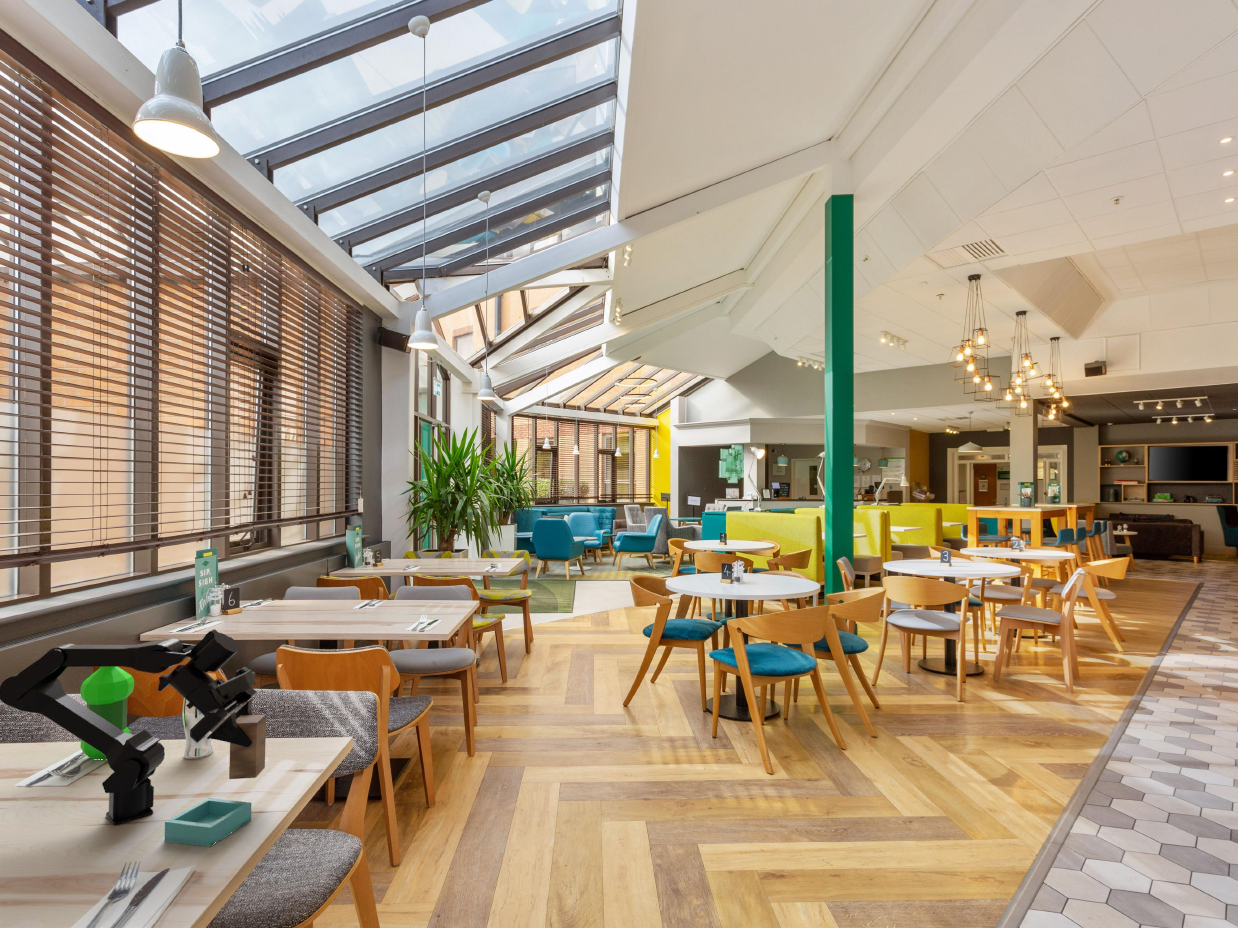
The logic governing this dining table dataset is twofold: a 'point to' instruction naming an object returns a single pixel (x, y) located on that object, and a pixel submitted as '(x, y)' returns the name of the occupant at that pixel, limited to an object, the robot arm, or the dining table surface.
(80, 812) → the dining table surface
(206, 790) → the dining table surface
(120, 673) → the plastic bottle
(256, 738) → the walnut post
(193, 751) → the beer glass
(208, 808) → the teal tray
